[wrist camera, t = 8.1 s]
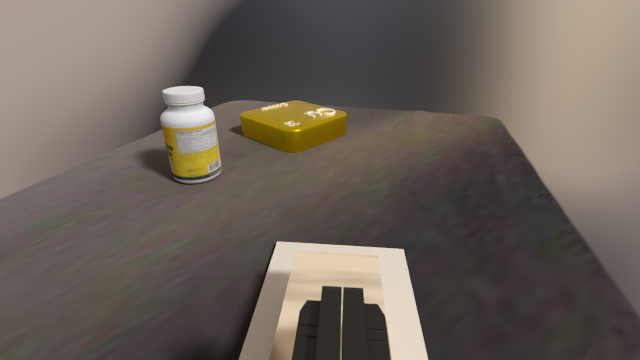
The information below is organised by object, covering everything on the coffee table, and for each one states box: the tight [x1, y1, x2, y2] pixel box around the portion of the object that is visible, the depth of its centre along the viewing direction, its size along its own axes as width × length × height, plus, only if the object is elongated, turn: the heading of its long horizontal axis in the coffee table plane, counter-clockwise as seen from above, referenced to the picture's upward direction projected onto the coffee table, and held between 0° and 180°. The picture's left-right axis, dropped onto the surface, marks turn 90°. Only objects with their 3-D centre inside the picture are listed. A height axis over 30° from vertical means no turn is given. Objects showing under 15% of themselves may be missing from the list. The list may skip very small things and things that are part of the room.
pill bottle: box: [160, 86, 222, 184], centre depth 42 cm, size 6×6×12 cm
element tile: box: [240, 100, 347, 153], centre depth 60 cm, size 15×15×5 cm
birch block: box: [269, 251, 392, 360], centre depth 18 cm, size 4×6×14 cm
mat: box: [239, 242, 428, 360], centre depth 23 cm, size 18×12×1 cm, turn 175°
